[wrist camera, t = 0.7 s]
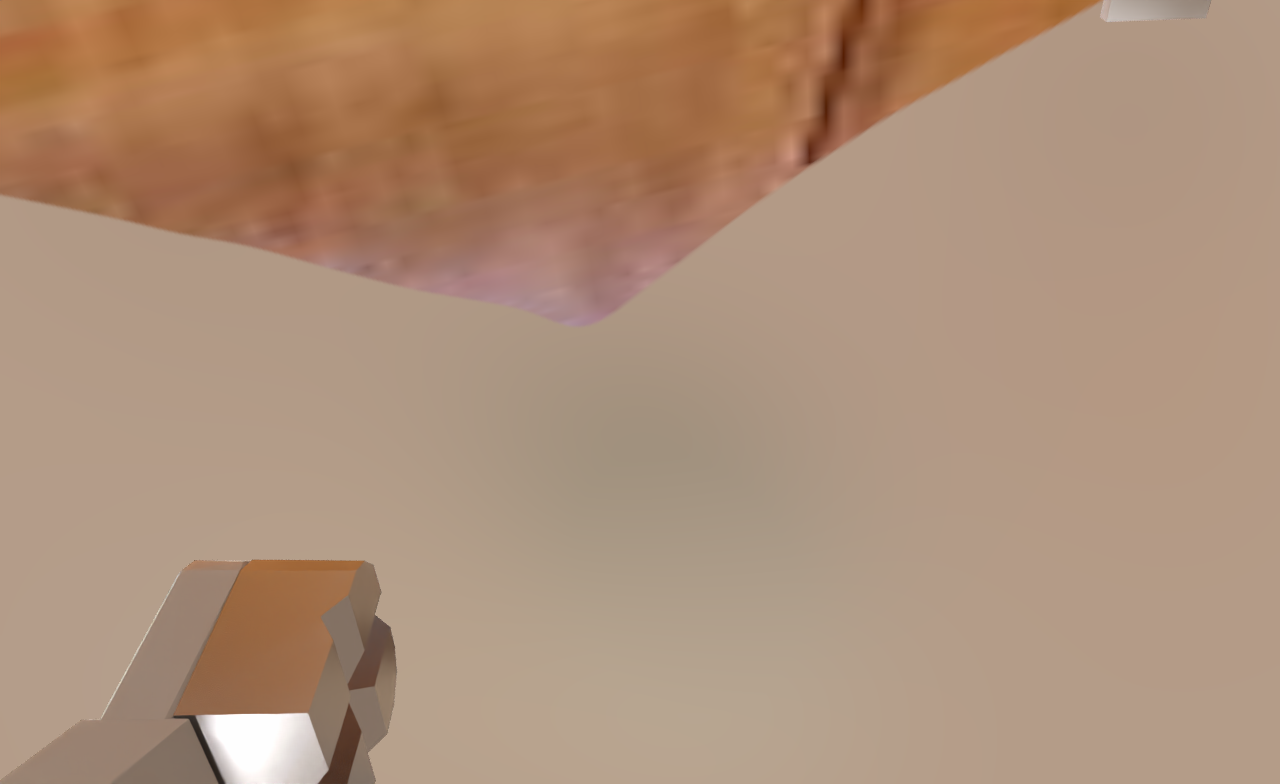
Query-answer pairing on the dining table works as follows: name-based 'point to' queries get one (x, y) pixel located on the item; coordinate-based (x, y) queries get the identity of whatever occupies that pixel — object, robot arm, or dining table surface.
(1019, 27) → the dining table surface
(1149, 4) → the block
